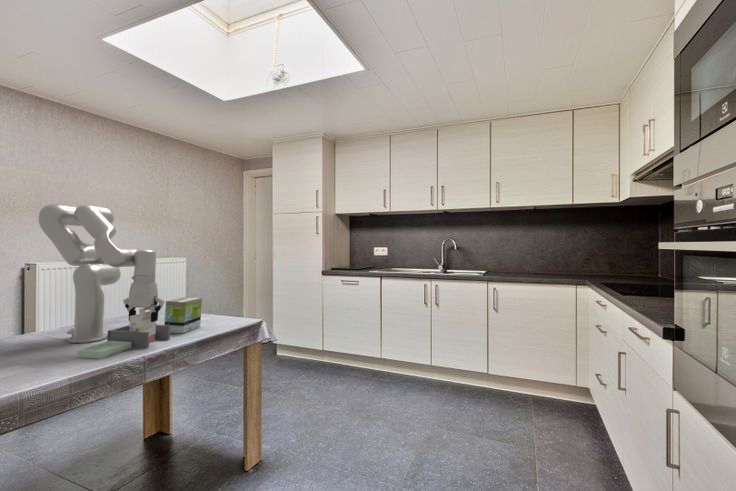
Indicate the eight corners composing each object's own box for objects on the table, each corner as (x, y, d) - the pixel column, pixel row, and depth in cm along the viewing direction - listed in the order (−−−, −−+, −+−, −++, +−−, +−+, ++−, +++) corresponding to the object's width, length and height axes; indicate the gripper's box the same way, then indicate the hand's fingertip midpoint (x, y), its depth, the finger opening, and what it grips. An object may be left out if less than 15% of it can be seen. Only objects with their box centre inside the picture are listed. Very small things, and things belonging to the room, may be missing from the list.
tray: (77, 357, 121) (77, 350, 121) (108, 346, 134) (108, 340, 134) (102, 358, 120) (102, 351, 120) (131, 348, 133) (131, 341, 133)
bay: (107, 346, 135) (107, 330, 135) (134, 337, 149) (134, 323, 149) (146, 348, 134) (146, 332, 134) (169, 339, 147) (170, 325, 148)
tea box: (184, 333, 157) (186, 301, 157) (163, 333, 157) (164, 301, 158) (201, 326, 172) (202, 297, 172) (181, 325, 172) (182, 296, 173)
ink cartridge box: (145, 339, 146) (147, 305, 146) (155, 340, 145) (157, 305, 145) (127, 344, 137) (129, 308, 138) (138, 345, 136) (139, 309, 137)
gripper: (117, 279, 139) (116, 321, 138) (157, 280, 137) (156, 323, 137) (132, 278, 146) (130, 318, 146) (170, 279, 144) (169, 319, 144)
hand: (143, 320), depth 141 cm, fingers open, 9 cm apart
